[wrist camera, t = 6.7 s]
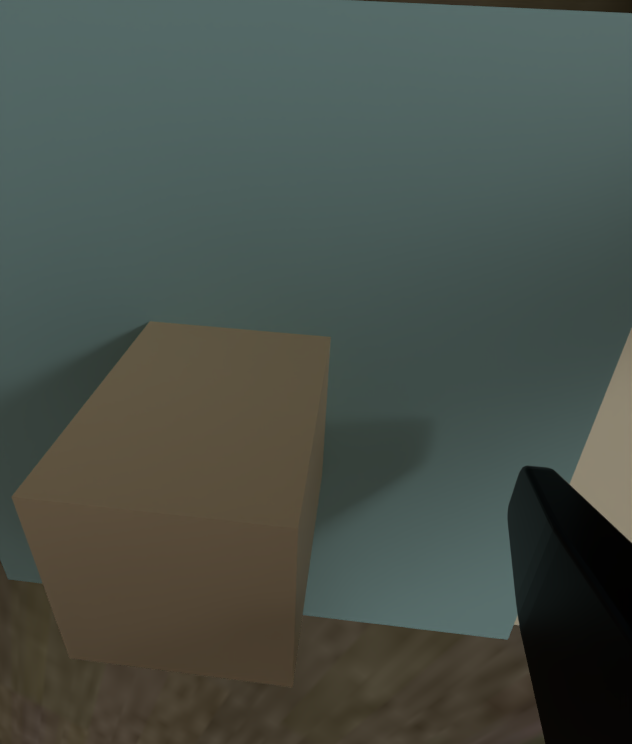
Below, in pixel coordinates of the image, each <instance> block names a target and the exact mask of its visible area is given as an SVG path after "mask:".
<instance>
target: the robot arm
mask: <svg viewBox="0 0 632 744" xmlns="http://www.w3.org/2000/svg"><path fill="white" fill-rule="evenodd" d="M507 521H508V531H509V541H510V550H511V560H512V569H513V579H514V589H515V598H516V607H517V615H518V621H519V626H520V631H521V636H522V641H523V645H524V650H525V654H526V659H527V663H528V667H529V672H530V676H531V681H532V685H533V690H534V694H535V699H536V703H537V708H538V712H539V717H540V721H541V726H542V730H543V735H544V739H545V744H632V543H631V542H630V541H629V540H628V539H627V538H626V537H625V536H624V535H623V534H622V533H621V532H620V531H619V530H618V529H617V528H616V527H614V526H613V525H612V524H611V523H610V522H609V521H608V520H607V519H606V518H605V517H604V516H603V515H602V514H601V513H600V512H599V511H597V510H596V509H595V508H594V507H593V506H592V505H591V504H590V503H589V502H588V501H587V500H586V499H585V498H584V497H583V496H582V495H580V494H579V493H578V492H577V491H576V490H575V489H574V488H573V487H572V486H571V485H570V484H569V483H568V482H567V481H566V480H565V479H563V478H562V477H561V476H560V475H559V474H558V473H557V472H556V471H555V470H553V469H551V468H548V467H539V466H529V465H527V466H524V467H522V469H521V470H520V472H519V474H518V477H517V480H516V483H515V486H514V490H513V493H512V496H511V499H510V502H509V505H508V512H507Z"/></svg>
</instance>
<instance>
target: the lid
mask: <svg viewBox="0 0 632 744" xmlns="http://www.w3.org/2000/svg"><path fill="white" fill-rule="evenodd" d="M631 328H632V13H615V12H593V11H571V10H549V9H527V8H505V7H483V6H461V5H440V4H418V3H396V2H374V1H352V0H0V560H1V563H2V565H3V568H4V570H5V573H6V575H7V577H8V579H11V580H19V581H27V582H36V583H43V586H44V589H45V591H46V594H47V597H48V600H49V602H50V605H51V608H52V611H53V614H54V616H55V619H56V622H57V625H58V627H59V630H60V633H61V636H62V638H63V641H64V644H65V647H66V650H67V652H68V655H69V658H70V659H78V660H85V661H93V662H101V663H108V664H116V665H124V666H132V667H139V668H147V669H155V670H162V671H170V672H178V673H185V674H193V675H201V676H208V677H216V678H224V679H231V680H239V681H247V682H255V683H262V684H270V685H278V686H285V687H293V682H294V674H295V667H296V660H297V653H298V645H299V638H300V631H301V624H302V616H303V615H308V616H317V617H325V618H333V619H341V620H350V621H358V622H366V623H374V624H383V625H391V626H399V627H407V628H416V629H424V630H432V631H440V632H449V633H457V634H465V635H473V636H482V637H490V638H498V639H507V640H508V638H509V635H510V633H511V630H512V628H513V625H514V623H515V620H516V618H517V607H516V598H515V589H514V579H513V569H512V560H511V550H510V541H509V531H508V521H507V512H508V505H509V502H510V499H511V496H512V493H513V490H514V486H515V483H516V480H517V477H518V474H519V472H520V470H521V469H522V467H524V466H527V465H529V466H539V467H548V468H551V469H553V470H555V471H556V472H557V473H558V474H559V475H560V476H561V477H562V478H563V479H565V480H566V481H567V482H568V483H569V484H570V482H571V479H572V477H573V474H574V472H575V469H576V466H577V464H578V461H579V459H580V456H581V454H582V451H583V449H584V446H585V444H586V441H587V439H588V436H589V434H590V431H591V429H592V426H593V424H594V421H595V419H596V416H597V414H598V411H599V409H600V406H601V404H602V401H603V398H604V396H605V393H606V391H607V388H608V386H609V383H610V381H611V378H612V376H613V373H614V371H615V368H616V366H617V363H618V361H619V358H620V356H621V353H622V351H623V348H624V346H625V343H626V341H627V338H628V336H629V333H630V331H631Z"/></svg>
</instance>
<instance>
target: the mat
mask: <svg viewBox="0 0 632 744" xmlns="http://www.w3.org/2000/svg"><path fill="white" fill-rule="evenodd" d="M570 485H571V486H572V487H573V488H574V489H575V490H576V491H577V492H578V493H579V494H580V495H582V496H583V497H584V498H585V499H586V500H587V501H588V502H589V503H590V504H591V505H592V506H593V507H594V508H595V509H596V510H597V511H599V512H600V513H601V514H602V515H603V516H604V517H605V518H606V519H607V520H608V521H609V522H610V523H611V524H612V525H613V526H614V527H616V528H617V529H618V530H619V531H620V532H621V533H622V534H623V535H624V536H625V537H626V538H627V539H628V540H629V541H630V542H631V543H632V328H631V331H630V333H629V336H628V338H627V341H626V343H625V346H624V348H623V351H622V353H621V356H620V358H619V361H618V363H617V366H616V368H615V371H614V373H613V376H612V378H611V381H610V383H609V386H608V388H607V391H606V393H605V396H604V398H603V401H602V404H601V406H600V409H599V411H598V414H597V416H596V419H595V421H594V424H593V426H592V429H591V431H590V434H589V436H588V439H587V441H586V444H585V446H584V449H583V451H582V454H581V456H580V459H579V461H578V464H577V466H576V469H575V472H574V474H573V477H572V479H571V482H570ZM514 625H519V621H518V615H517V618H516V620H515V623H514Z"/></svg>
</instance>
